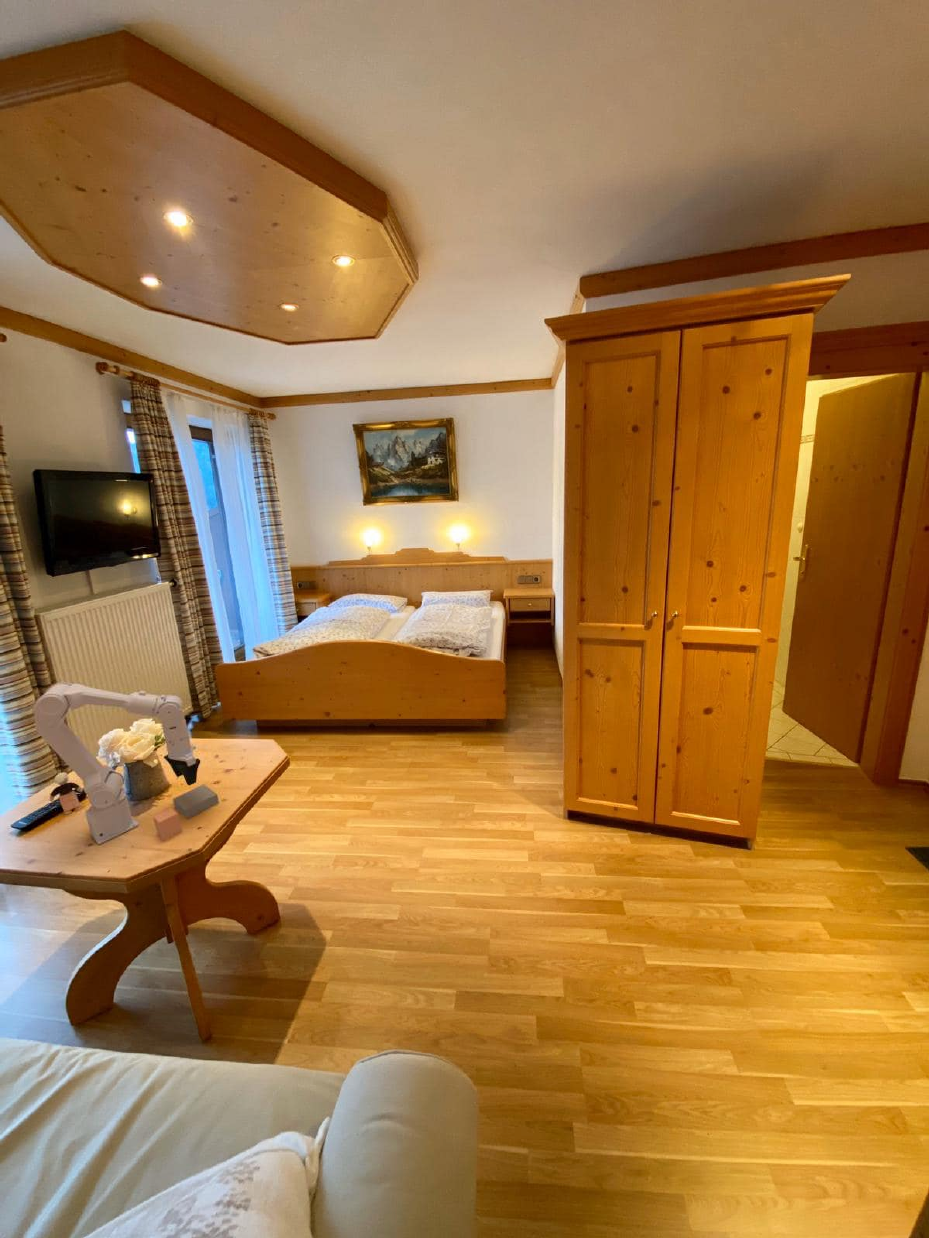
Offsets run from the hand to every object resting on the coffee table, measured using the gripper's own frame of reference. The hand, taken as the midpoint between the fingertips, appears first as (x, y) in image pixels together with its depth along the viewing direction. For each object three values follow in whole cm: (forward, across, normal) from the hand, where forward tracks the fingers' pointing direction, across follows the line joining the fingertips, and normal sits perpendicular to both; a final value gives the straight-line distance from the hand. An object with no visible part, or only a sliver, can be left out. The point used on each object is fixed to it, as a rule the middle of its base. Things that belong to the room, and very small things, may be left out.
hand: (186, 779), depth 138 cm
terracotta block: (+10, -6, +9) cm, 15 cm away
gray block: (+10, 0, -1) cm, 10 cm away
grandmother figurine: (+10, +31, +22) cm, 39 cm away
